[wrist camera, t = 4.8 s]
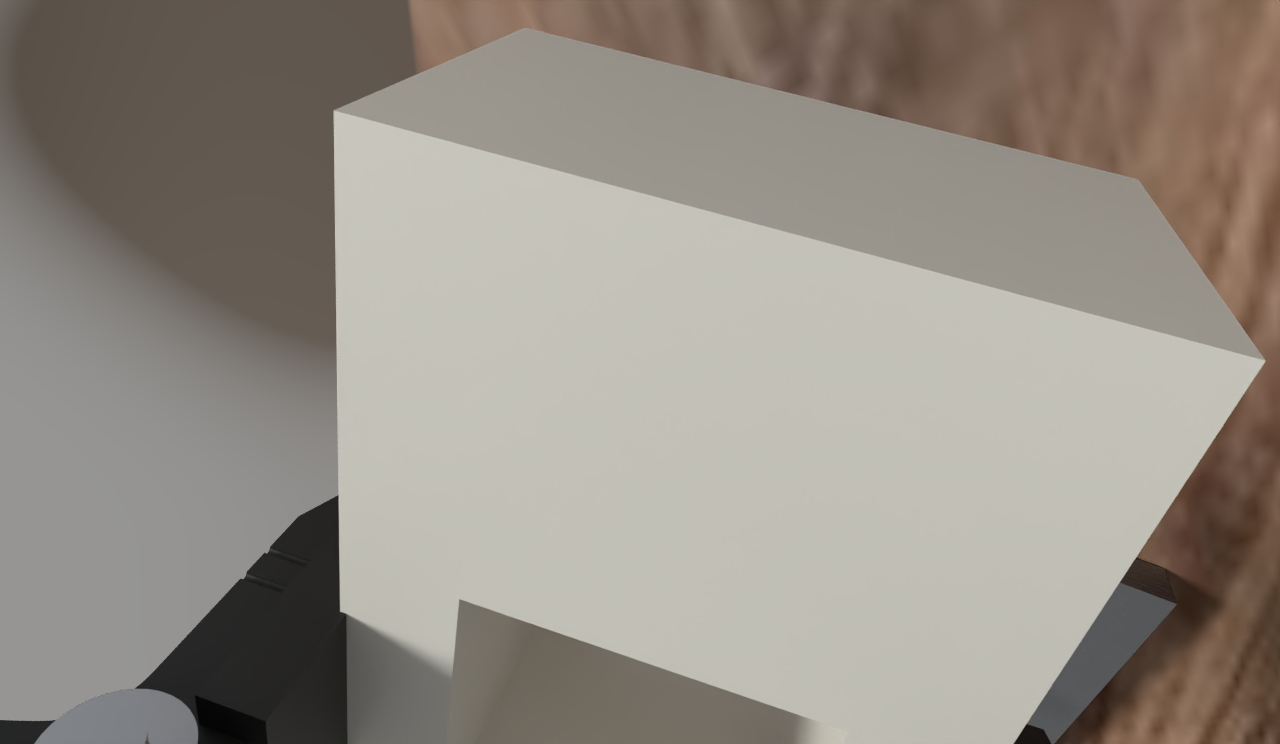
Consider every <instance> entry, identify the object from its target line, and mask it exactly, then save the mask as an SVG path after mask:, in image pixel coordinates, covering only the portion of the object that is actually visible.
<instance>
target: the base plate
mask: <svg viewBox="0 0 1280 744" xmlns="http://www.w3.org/2000/svg"><path fill="white" fill-rule="evenodd" d="M1176 605H1177V602H1176V600H1175V597H1174V594H1173V591H1172V589H1171V586H1170V583H1169V580H1168V578H1167V575H1166V572H1165V569H1164V568H1161V567H1158V566H1156V565H1153V564H1150V563H1148V562H1145V561H1142V560H1140V559H1137V558H1135V560H1134V561H1133V563H1132V564H1131V566H1130V567H1129V569H1128V571H1127V572H1126V574H1125V575H1124V577H1123V578H1122V580H1121V581H1120V583H1119V584H1118V586H1117V587H1116V589H1115V590H1114V592H1113V593H1112V595H1111V596H1110V598H1109V599H1108V601H1107V602H1106V604H1105V605H1104V607H1103V608H1102V610H1101V612H1100V613H1099V615H1098V616H1097V618H1096V619H1095V621H1094V622H1093V624H1092V625H1091V627H1090V628H1089V630H1088V631H1087V633H1086V634H1085V636H1084V637H1083V639H1082V640H1081V642H1080V643H1079V645H1078V646H1077V648H1076V650H1075V651H1074V653H1073V654H1072V656H1071V657H1070V659H1069V660H1068V662H1067V663H1066V665H1065V666H1064V668H1063V669H1062V671H1061V672H1060V674H1059V675H1058V677H1057V678H1056V680H1055V681H1054V683H1053V684H1052V686H1051V687H1050V689H1049V691H1048V692H1047V694H1046V695H1045V697H1044V698H1043V700H1042V701H1041V703H1040V704H1039V706H1038V707H1037V709H1036V710H1035V712H1034V713H1033V715H1032V716H1031V718H1030V719H1029V721H1028V722H1027V724H1029V725H1032V726H1035V727H1038V728H1041V729H1044V731H1045V733H1046V735H1047V736H1048V738H1049V740H1050V742H1051V744H1054V743H1055V742H1056V741H1057V740H1058V739H1059V738H1060V736H1061V735H1062V734H1063V733H1064V732H1065V731H1066V730H1067V729H1068V727H1069V726H1070V725H1071V724H1072V723H1073V722H1074V721H1075V719H1076V718H1077V717H1078V716H1079V715H1080V714H1081V713H1082V712H1083V710H1084V709H1085V708H1086V707H1087V706H1088V705H1089V704H1090V702H1091V701H1092V700H1093V699H1094V698H1095V697H1096V696H1097V695H1098V693H1099V692H1100V691H1101V690H1102V689H1103V688H1104V687H1105V685H1106V684H1107V683H1108V682H1109V681H1110V680H1111V679H1112V678H1113V676H1114V675H1115V674H1116V673H1117V672H1118V671H1119V670H1120V668H1121V667H1122V666H1123V665H1124V664H1125V663H1126V662H1127V661H1128V659H1129V658H1130V657H1131V656H1132V655H1133V654H1134V653H1135V651H1136V650H1137V649H1138V648H1139V647H1140V646H1141V645H1142V644H1143V642H1144V641H1145V640H1146V639H1147V638H1148V637H1149V636H1150V634H1151V633H1152V632H1153V631H1154V630H1155V629H1156V628H1157V627H1158V625H1159V624H1160V623H1161V622H1162V621H1163V620H1164V619H1165V617H1166V616H1167V615H1168V614H1169V613H1170V612H1171V611H1172V610H1173V608H1174V607H1175V606H1176Z"/></svg>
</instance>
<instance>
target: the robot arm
mask: <svg viewBox="0 0 1280 744" xmlns="http://www.w3.org/2000/svg"><path fill="white" fill-rule="evenodd" d="M0 744H348V741H347V626H346V613H343V612H340V568H339V495H338V496H336V497H334V498H332V499H330V500H329V501H327V502H325V503H323V504H321V505H319V506H317V507H315V508H314V509H312V510H310V511H308V512H306V513H304V514H302V515H300V516H299V517H298V518H297V519H296V520H295V521H294V522H293V523H292V524H291V525H290V526H289V527H288V528H287V529H286V531H285V532H284V533H283V534H282V535H281V536H280V537H279V538H278V539H277V540H276V541H275V542H274V543H273V545H272V546H271V547H270V550H269V552H268V553H267V554H266V553H264V554H263V555H262V556H261V557H260V558H259V559H258V560H257V562H256V563H255V564H254V565H253V566H252V567H251V568H250V569H249V570H248V571H247V574H246V577H245V578H244V579H240V580H239V581H238V582H237V583H236V584H235V585H234V586H233V587H232V588H231V589H230V590H229V592H228V593H227V594H226V595H225V596H224V597H223V598H222V599H221V600H220V601H219V602H218V603H217V604H216V605H215V607H214V608H213V609H212V610H211V611H210V612H209V613H208V614H207V615H206V616H205V617H204V618H203V619H202V620H201V622H200V623H199V624H198V625H197V626H196V627H195V628H194V629H193V630H192V631H191V632H190V633H189V634H188V635H187V637H186V638H185V639H184V640H183V641H182V642H181V643H180V644H179V645H178V646H177V647H176V648H175V649H174V651H173V652H172V653H171V654H170V655H169V656H168V657H167V658H166V659H165V660H164V661H163V662H162V663H161V664H160V665H159V667H158V668H157V669H156V670H155V671H154V672H153V673H152V674H151V675H150V676H149V677H148V678H147V679H146V680H145V681H144V682H143V683H141V684H140V685H139V686H137V687H136V688H135V689H127V690H119V691H115V692H111V693H106V694H103V695H101V696H98V697H95V698H92V699H90V700H88V701H86V702H84V703H81V704H79V705H77V706H76V707H75V708H73V709H71V710H69V711H68V712H66V713H65V714H63V715H62V716H61V717H60V718H59V719H57V720H53V721H6V720H0ZM1014 744H1051V742H1050V740H1049V738H1048V736H1047V735H1046V733H1045V731H1044V729H1041V728H1038V727H1035V726H1032V725H1029V724H1026V725H1025V727H1024V728H1023V730H1022V732H1021V733H1020V735H1019V736H1018V738H1017V739H1016V741H1015V742H1014Z"/></svg>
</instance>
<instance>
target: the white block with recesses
mask: <svg viewBox="0 0 1280 744" xmlns="http://www.w3.org/2000/svg"><path fill="white" fill-rule="evenodd" d="M334 166H335V246H336V247H335V249H336V327H337V408H338V485H339V568H340V612H343V613H346V626H347V741H348V744H1014V742H1015V741H1016V739H1017V738H1018V736H1019V735H1020V733H1021V732H1022V730H1023V728H1024V727H1025V725H1026V724H1027V722H1028V721H1029V719H1030V718H1031V716H1032V715H1033V713H1034V712H1035V710H1036V709H1037V707H1038V706H1039V704H1040V703H1041V701H1042V700H1043V698H1044V697H1045V695H1046V694H1047V692H1048V691H1049V689H1050V687H1051V686H1052V684H1053V683H1054V681H1055V680H1056V678H1057V677H1058V675H1059V674H1060V672H1061V671H1062V669H1063V668H1064V666H1065V665H1066V663H1067V662H1068V660H1069V659H1070V657H1071V656H1072V654H1073V653H1074V651H1075V650H1076V648H1077V646H1078V645H1079V643H1080V642H1081V640H1082V639H1083V637H1084V636H1085V634H1086V633H1087V631H1088V630H1089V628H1090V627H1091V625H1092V624H1093V622H1094V621H1095V619H1096V618H1097V616H1098V615H1099V613H1100V612H1101V610H1102V608H1103V607H1104V605H1105V604H1106V602H1107V601H1108V599H1109V598H1110V596H1111V595H1112V593H1113V592H1114V590H1115V589H1116V587H1117V586H1118V584H1119V583H1120V581H1121V580H1122V578H1123V577H1124V575H1125V574H1126V572H1127V571H1128V569H1129V567H1130V566H1131V564H1132V563H1133V561H1134V560H1135V558H1136V557H1137V555H1138V554H1139V552H1140V551H1141V549H1142V548H1143V546H1144V545H1145V543H1146V542H1147V540H1148V539H1149V537H1150V536H1151V534H1152V533H1153V531H1154V530H1155V528H1156V526H1157V525H1158V523H1159V522H1160V520H1161V519H1162V517H1163V516H1164V514H1165V513H1166V511H1167V510H1168V508H1169V507H1170V505H1171V504H1172V502H1173V501H1174V499H1175V498H1176V496H1177V495H1178V493H1179V492H1180V490H1181V489H1182V487H1183V485H1184V484H1185V482H1186V481H1187V479H1188V478H1189V476H1190V475H1191V473H1192V472H1193V470H1194V469H1195V467H1196V466H1197V464H1198V463H1199V461H1200V460H1201V458H1202V457H1203V455H1204V454H1205V452H1206V451H1207V449H1208V448H1209V446H1210V444H1211V443H1212V441H1213V440H1214V438H1215V437H1216V435H1217V434H1218V432H1219V431H1220V429H1221V428H1222V426H1223V425H1224V423H1225V422H1226V420H1227V419H1228V417H1229V416H1230V414H1231V413H1232V411H1233V410H1234V408H1235V407H1236V405H1237V403H1238V402H1239V400H1240V399H1241V397H1242V396H1243V394H1244V393H1245V391H1246V390H1247V388H1248V387H1249V385H1250V384H1251V382H1252V381H1253V379H1254V378H1255V376H1256V375H1257V373H1258V372H1259V370H1260V369H1261V367H1262V365H1263V364H1264V362H1265V359H1264V358H1263V356H1262V355H1261V354H1260V352H1259V351H1258V349H1257V348H1256V346H1255V345H1254V344H1253V342H1252V341H1251V339H1250V338H1249V337H1248V335H1247V334H1246V332H1245V331H1244V329H1243V328H1242V327H1241V325H1240V324H1239V322H1238V321H1237V319H1236V318H1235V317H1234V315H1233V314H1232V312H1231V311H1230V310H1229V308H1228V307H1227V305H1226V304H1225V302H1224V301H1223V300H1222V298H1221V297H1220V295H1219V294H1218V292H1217V291H1216V290H1215V288H1214V287H1213V285H1212V284H1211V282H1210V281H1209V280H1208V278H1207V277H1206V275H1205V274H1204V273H1203V271H1202V270H1201V268H1200V267H1199V265H1198V264H1197V263H1196V261H1195V260H1194V258H1193V257H1192V255H1191V254H1190V253H1189V251H1188V250H1187V248H1186V247H1185V246H1184V244H1183V243H1182V241H1181V240H1180V238H1179V237H1178V236H1177V234H1176V233H1175V231H1174V230H1173V228H1172V227H1171V226H1170V224H1169V223H1168V221H1167V220H1166V218H1165V217H1164V216H1163V214H1162V213H1161V211H1160V210H1159V209H1158V207H1157V206H1156V204H1155V203H1154V201H1153V200H1152V199H1151V197H1150V196H1149V194H1148V193H1147V191H1146V190H1145V189H1144V187H1143V186H1142V184H1141V183H1140V182H1139V180H1138V179H1135V178H1130V177H1126V176H1122V175H1118V174H1114V173H1110V172H1106V171H1102V170H1098V169H1094V168H1090V167H1086V166H1082V165H1078V164H1074V163H1070V162H1066V161H1062V160H1058V159H1054V158H1050V157H1046V156H1042V155H1038V154H1034V153H1029V152H1025V151H1021V150H1017V149H1013V148H1009V147H1005V146H1001V145H997V144H993V143H989V142H985V141H981V140H977V139H973V138H969V137H965V136H961V135H957V134H953V133H949V132H945V131H941V130H937V129H932V128H928V127H924V126H920V125H916V124H912V123H908V122H904V121H900V120H896V119H892V118H888V117H884V116H880V115H876V114H872V113H868V112H864V111H860V110H856V109H852V108H848V107H844V106H840V105H835V104H831V103H827V102H823V101H819V100H815V99H811V98H807V97H803V96H799V95H795V94H791V93H787V92H783V91H779V90H775V89H771V88H767V87H763V86H759V85H755V84H751V83H747V82H743V81H739V80H734V79H730V78H726V77H722V76H718V75H714V74H710V73H706V72H702V71H698V70H694V69H690V68H686V67H682V66H678V65H674V64H670V63H666V62H662V61H658V60H654V59H650V58H646V57H642V56H637V55H633V54H629V53H625V52H621V51H617V50H613V49H609V48H605V47H601V46H597V45H593V44H589V43H585V42H581V41H577V40H573V39H569V38H565V37H561V36H557V35H553V34H549V33H545V32H540V31H536V30H532V29H528V28H523V29H521V30H519V31H516V32H514V33H512V34H509V35H507V36H505V37H502V38H500V39H498V40H495V41H493V42H491V43H489V44H486V45H484V46H482V47H479V48H477V49H475V50H472V51H470V52H468V53H465V54H463V55H461V56H458V57H456V58H454V59H452V60H449V61H447V62H445V63H442V64H440V65H438V66H435V67H433V68H431V69H428V70H426V71H424V72H421V73H419V74H417V75H415V76H412V77H410V78H408V79H405V80H403V81H401V82H399V83H396V84H394V85H392V86H389V87H387V88H385V89H382V90H380V91H378V92H375V93H373V94H371V95H368V96H366V97H364V98H361V99H359V100H357V101H354V102H352V103H350V104H348V105H345V106H343V107H341V108H338V109H336V110H334Z"/></svg>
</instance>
